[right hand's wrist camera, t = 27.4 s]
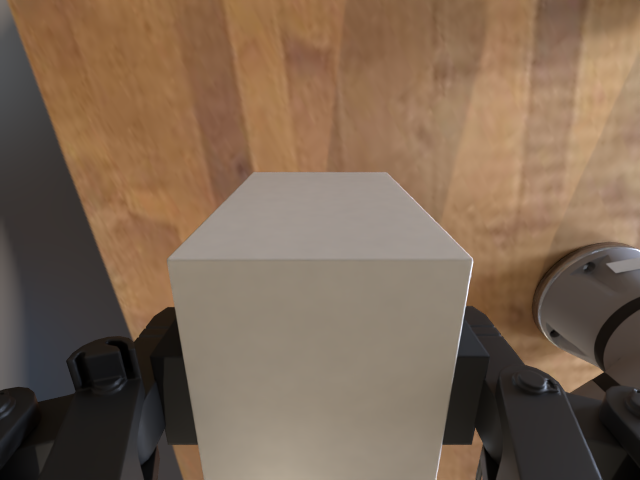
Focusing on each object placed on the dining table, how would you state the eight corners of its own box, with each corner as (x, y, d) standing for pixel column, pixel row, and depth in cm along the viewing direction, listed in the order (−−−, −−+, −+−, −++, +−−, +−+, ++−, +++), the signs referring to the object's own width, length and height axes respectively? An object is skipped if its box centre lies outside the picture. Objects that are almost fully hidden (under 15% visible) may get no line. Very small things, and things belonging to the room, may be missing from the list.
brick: (387, 172, 16) (474, 258, 7) (377, 310, 19) (432, 504, 10) (252, 172, 16) (165, 258, 7) (262, 310, 19) (207, 505, 10)
